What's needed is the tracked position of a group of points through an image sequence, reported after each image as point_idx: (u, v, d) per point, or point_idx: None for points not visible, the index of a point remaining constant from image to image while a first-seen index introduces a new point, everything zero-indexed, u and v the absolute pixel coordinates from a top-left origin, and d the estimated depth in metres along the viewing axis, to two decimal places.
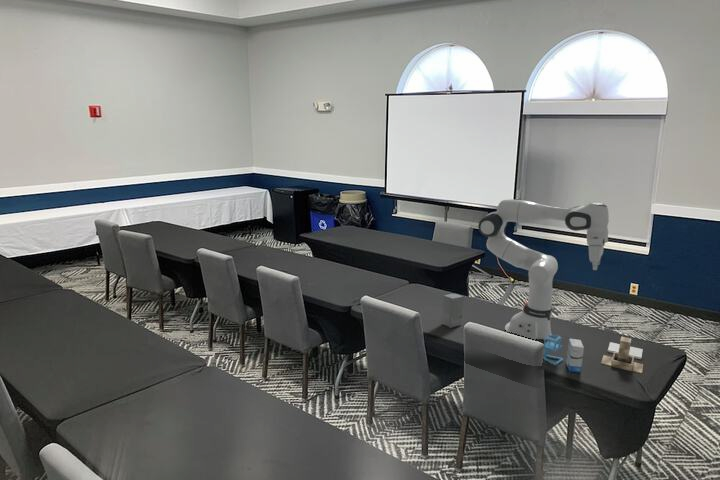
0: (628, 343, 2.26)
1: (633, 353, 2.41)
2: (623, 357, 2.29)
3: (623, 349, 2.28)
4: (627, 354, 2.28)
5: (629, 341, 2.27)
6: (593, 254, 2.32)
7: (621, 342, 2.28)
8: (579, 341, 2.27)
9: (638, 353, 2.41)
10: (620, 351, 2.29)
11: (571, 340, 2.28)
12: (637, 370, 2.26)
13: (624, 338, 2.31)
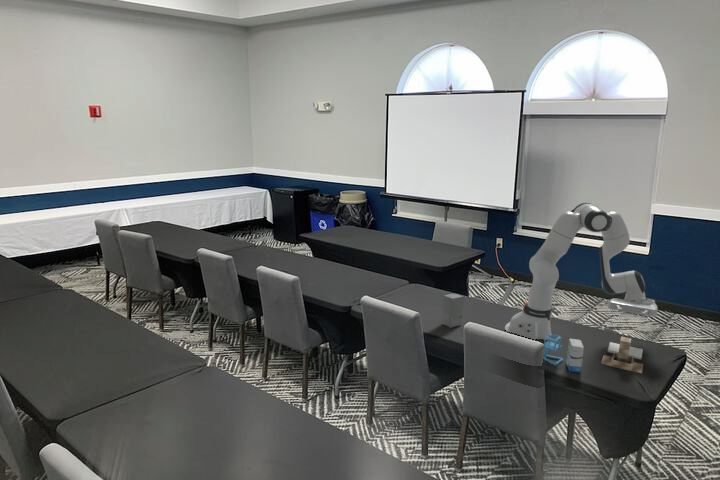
0: (628, 343, 2.26)
1: (633, 353, 2.41)
2: (623, 357, 2.29)
3: (623, 349, 2.28)
4: (627, 354, 2.28)
5: (629, 341, 2.27)
6: None
7: (621, 342, 2.28)
8: (579, 341, 2.27)
9: (638, 353, 2.41)
10: (620, 351, 2.29)
11: (571, 340, 2.28)
12: (637, 370, 2.26)
13: (624, 338, 2.31)
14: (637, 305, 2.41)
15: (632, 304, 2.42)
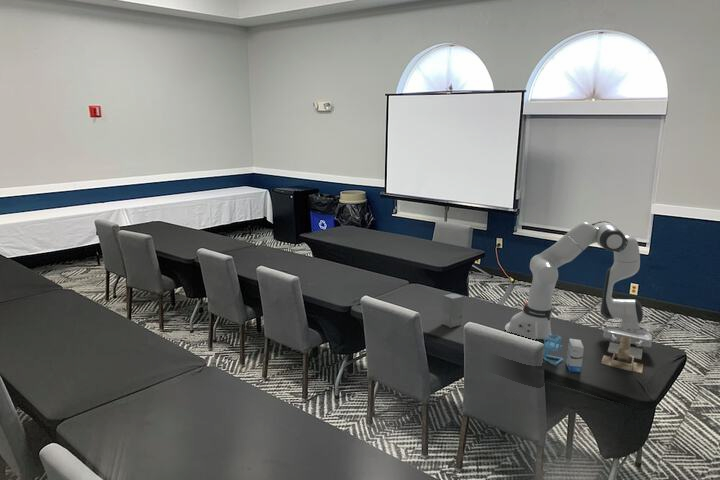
0: (628, 343, 2.26)
1: (633, 353, 2.41)
2: (623, 357, 2.29)
3: (623, 349, 2.28)
4: (627, 354, 2.28)
5: (629, 341, 2.27)
6: None
7: (621, 342, 2.28)
8: (579, 341, 2.27)
9: (638, 353, 2.41)
10: (620, 351, 2.29)
11: (571, 340, 2.28)
12: (637, 370, 2.26)
13: (623, 338, 2.31)
14: (632, 335, 2.42)
15: (627, 334, 2.43)
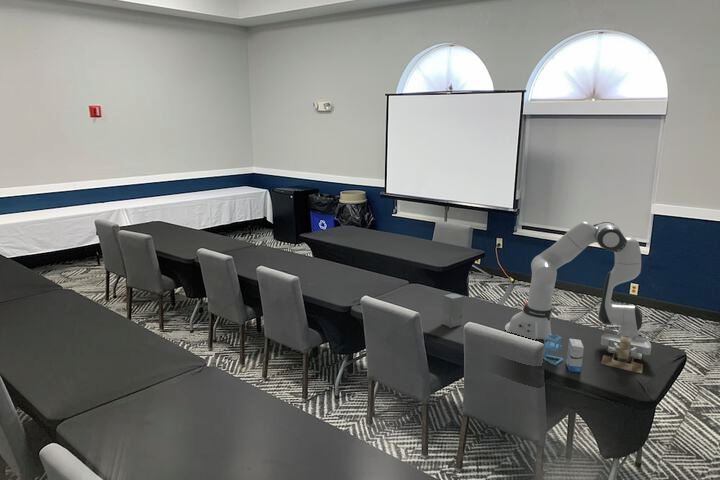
0: (628, 343, 2.26)
1: (633, 353, 2.41)
2: (623, 357, 2.29)
3: (623, 349, 2.28)
4: (627, 354, 2.28)
5: (629, 341, 2.27)
6: None
7: (621, 342, 2.28)
8: (579, 341, 2.27)
9: (638, 353, 2.41)
10: (620, 351, 2.29)
11: (571, 340, 2.28)
12: (637, 370, 2.26)
13: (623, 338, 2.31)
14: None
15: None
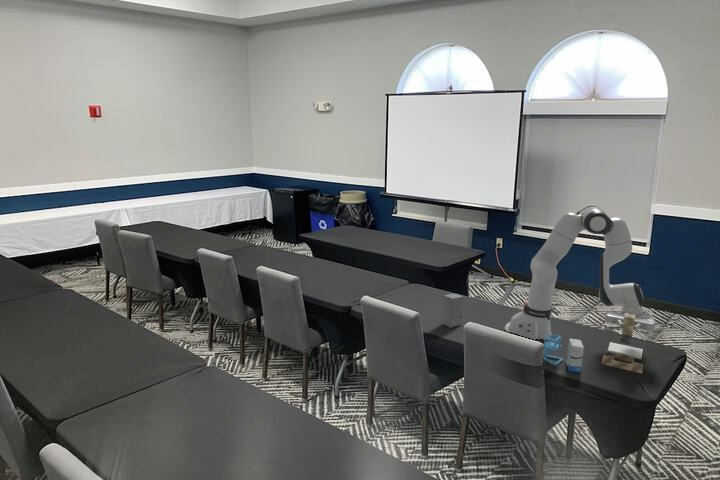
0: (632, 319, 2.27)
1: (633, 353, 2.41)
2: (627, 333, 2.29)
3: (627, 325, 2.28)
4: (631, 330, 2.28)
5: (633, 317, 2.27)
6: None
7: (625, 318, 2.28)
8: (579, 341, 2.27)
9: (638, 353, 2.41)
10: (624, 327, 2.29)
11: (571, 340, 2.28)
12: (637, 370, 2.26)
13: (627, 314, 2.31)
14: None
15: None
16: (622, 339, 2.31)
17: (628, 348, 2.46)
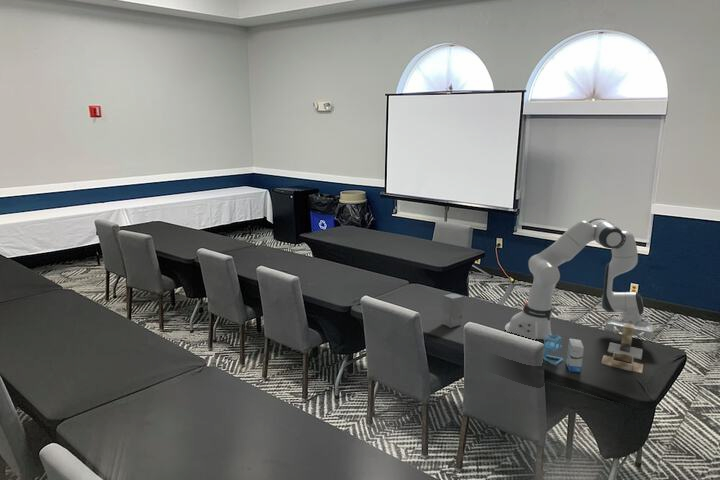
0: (631, 329, 2.39)
1: (633, 353, 2.41)
2: (626, 342, 2.41)
3: (626, 335, 2.41)
4: (630, 339, 2.40)
5: (632, 327, 2.40)
6: None
7: (624, 328, 2.40)
8: (579, 341, 2.27)
9: (638, 353, 2.41)
10: (623, 336, 2.41)
11: (571, 340, 2.28)
12: (637, 370, 2.26)
13: (627, 324, 2.43)
14: None
15: None
16: (621, 348, 2.43)
17: None
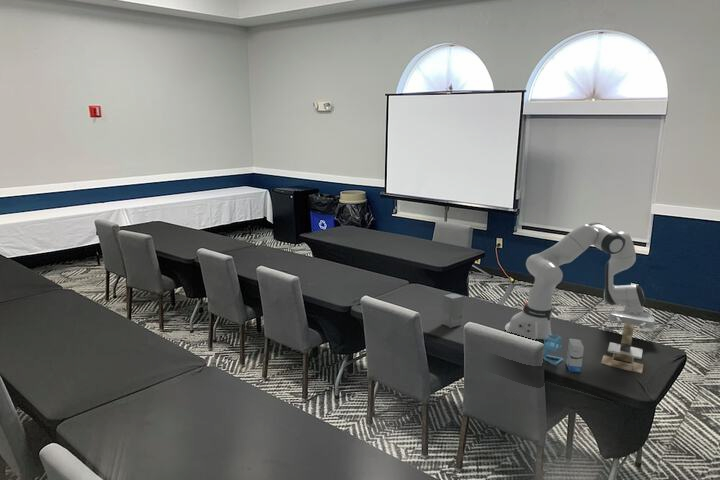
0: (631, 329, 2.39)
1: (633, 353, 2.41)
2: (626, 342, 2.41)
3: (626, 335, 2.40)
4: (630, 339, 2.40)
5: (632, 327, 2.40)
6: None
7: (624, 328, 2.40)
8: (579, 341, 2.27)
9: (638, 353, 2.41)
10: (623, 336, 2.41)
11: (571, 340, 2.28)
12: (637, 370, 2.26)
13: (627, 324, 2.43)
14: (636, 317, 2.56)
15: (631, 316, 2.58)
16: (621, 348, 2.43)
17: None
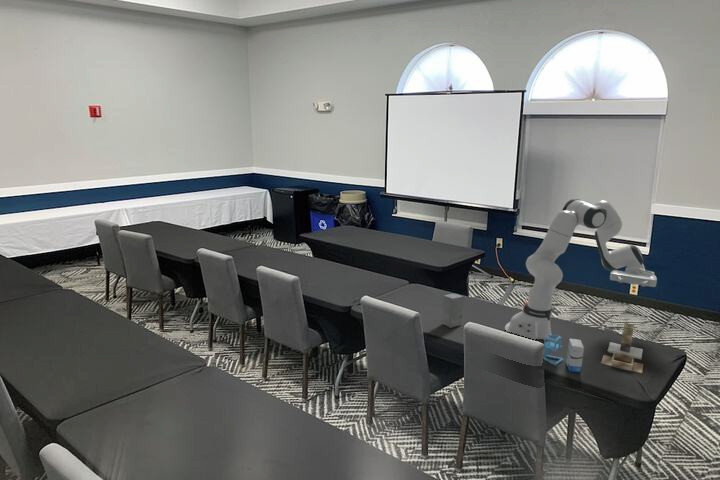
0: (631, 329, 2.39)
1: (633, 353, 2.41)
2: (626, 342, 2.41)
3: (626, 335, 2.40)
4: (630, 339, 2.40)
5: (632, 327, 2.40)
6: None
7: (624, 328, 2.40)
8: (579, 341, 2.27)
9: (638, 353, 2.41)
10: (623, 336, 2.41)
11: (571, 340, 2.28)
12: (637, 370, 2.26)
13: (627, 324, 2.43)
14: (637, 276, 2.52)
15: (632, 275, 2.53)
16: (621, 348, 2.43)
17: None
